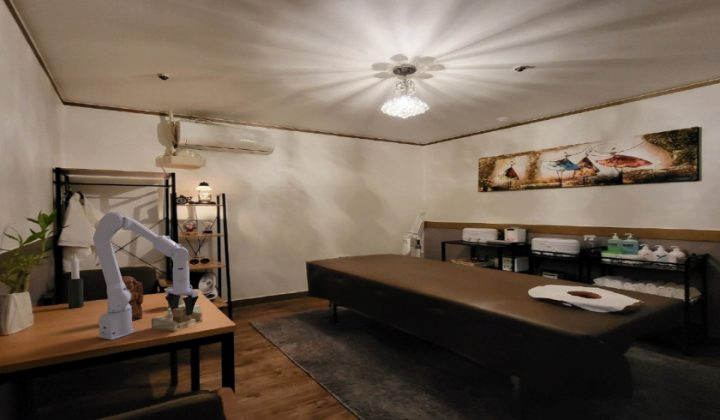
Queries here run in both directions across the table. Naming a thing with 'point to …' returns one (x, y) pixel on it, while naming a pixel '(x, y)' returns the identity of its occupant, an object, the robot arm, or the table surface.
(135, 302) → the wooden figurine
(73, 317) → the table surface
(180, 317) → the walnut block
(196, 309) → the sage stand
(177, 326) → the birch box
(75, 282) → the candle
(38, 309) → the table surface
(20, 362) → the table surface
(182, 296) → the flower pot
